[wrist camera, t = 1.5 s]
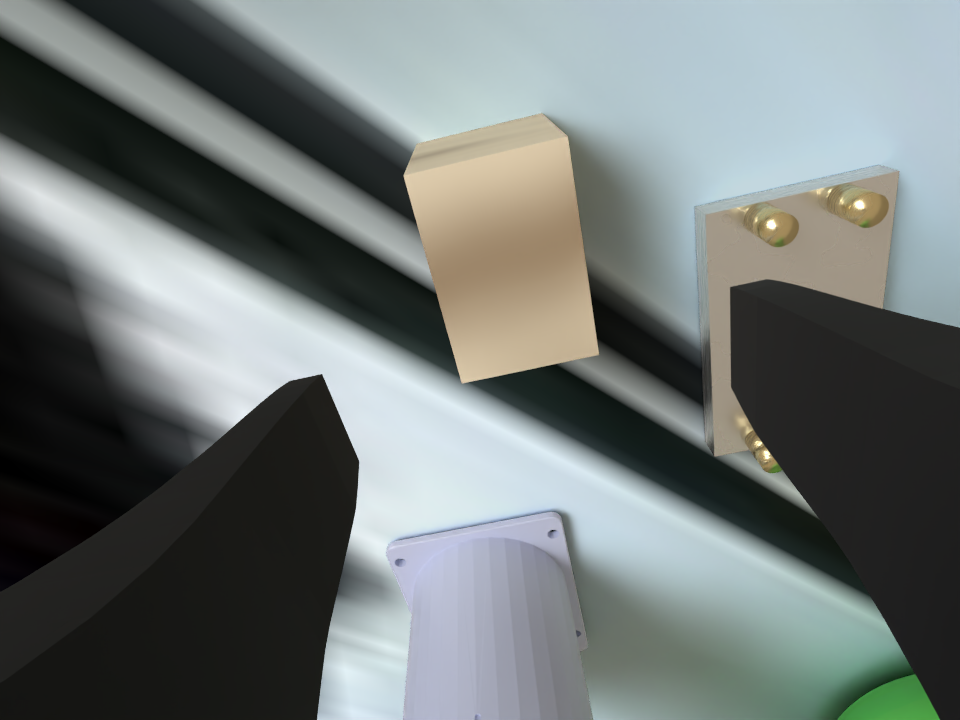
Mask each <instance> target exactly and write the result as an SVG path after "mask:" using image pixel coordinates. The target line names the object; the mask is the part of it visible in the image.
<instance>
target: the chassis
mask: <svg viewBox="0 0 960 720" xmlns="http://www.w3.org/2000/svg"><path fill="white" fill-rule="evenodd" d="M898 178H899V171H898V170H895V169H891V168H888V167H885V166H881V165H876V166H872V167H868V168H863V169H859V170H854V171H850V172H846V173H841V174H837V175H832V176H828V177H824V178H819V179H815V180H810V181H806V182H802V183H797V184H793V185H788V186H784V187H780V188H775V189H771V190H766V191H762V192H758V193H753V194H749V195H744V196H740V197H736V198H731V199H727V200H722V201H718V202H714V203H709V204H705V205H700V206H696V207H695V228H696V250H697V272H698V293H699V315H700V337H701V359H702V380H703V402H704V424H705V442H706V443H707V445H708V447H709V448H710V450H711V452H712V453H713V455H714V457H715V456H720V455H725V454H730V453H736V452H741V451H746V450H750V451H751V453H752V454H753V455H754V457H755V458H756V460H757V461H758V463H759V464H760V465H761V467H762V468H763V470H764V471H766V472H768V473H776V472H779V471H781V470H782V469H781V467H780V466H779V465H778V463H777V462H776V460H775V459H774V458H773V456H772V455H771V454H770V452H769V451H768V450H767V448H766V447H765V446H764V444H763V443H762V441H761V440H760V439H759V437H758V436H757V435H756V433H755V431H754V430H753V428H752V426H751V424H750V423H749V421H748V419H747V417H746V415H745V414H744V412H743V410H742V408H741V406H740V404H739V402H738V400H737V398H736V396H735V394H734V392H733V390H732V388H731V345H730V287H732V286H737V285H742V284H746V283H751V282H756V281H760V280H765V279H770V280H777V281H782V282H786V283H791V284H795V285H799V286H802V287H806V288H810V289H814V290H817V291H821V292H824V293H828V294H831V295H835V296H838V297H842V298H845V299H849V300H852V301H856V302H860V303H863V304H867V305H870V306H874V307H877V308H881V309H883V301H884V293H885V285H886V277H887V269H888V260H889V252H890V244H891V236H892V227H893V219H894V211H895V203H896V194H897V186H898Z"/></svg>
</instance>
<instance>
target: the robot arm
mask: <svg viewBox="0 0 960 720" xmlns="http://www.w3.org/2000/svg"><path fill="white" fill-rule="evenodd" d="M730 345H731V388H732V390H733V392H734V394H735V396H736V398H737V400H738V402H739V404H740V406H741V408H742V410H743V412H744V414H745V415H746V417H747V419H748V421H749V423H750V424H751V426H752V428H753V430H754V431H755V433H756V435H757V436H758V437H759V439H760V440H761V441H762V443H763V444H764V446H765V447H766V448H767V450H768V451H769V452H770V454H771V455H772V456H773V458H774V459H775V460H776V462H777V463H778V465H779V466H780V467H781V469H782V470H783V471H784V473H785V474H786V475H787V477H788V478H789V479H790V481H791V482H792V483H793V484H794V486H795V487H796V488H797V490H798V491H799V492H800V494H801V495H802V496H803V498H804V499H805V500H806V502H807V503H808V504H809V506H810V507H811V508H812V510H813V511H814V512H815V514H816V515H817V516H818V518H819V519H820V520H821V522H822V523H823V524H824V526H825V527H826V528H827V530H828V531H829V532H830V534H831V535H832V536H833V538H834V539H835V541H836V542H837V544H838V545H839V546H840V548H841V549H842V551H843V552H844V554H845V555H846V557H847V558H848V560H849V561H850V563H851V564H852V566H853V568H854V569H855V571H856V573H857V574H858V576H859V578H860V579H861V581H862V583H863V584H864V586H865V588H866V589H867V591H868V593H869V594H870V596H871V598H872V599H873V601H874V603H875V604H876V606H877V608H878V609H879V611H880V613H881V614H882V616H883V618H884V619H885V621H886V623H887V625H888V627H889V628H890V630H891V632H892V634H893V635H894V637H895V639H896V641H897V642H898V644H899V646H900V648H901V650H902V651H903V653H904V655H905V657H906V658H907V660H908V662H909V664H910V665H911V667H912V669H913V671H914V673H915V674H916V676H917V678H918V680H919V681H920V683H921V685H922V687H923V689H924V691H925V692H926V694H927V696H928V698H929V700H930V702H931V704H932V706H933V708H934V709H935V711H936V713H937V715H938V717H939V719H940V720H960V328H958V327H954V326H950V325H945V324H941V323H937V322H932V321H928V320H924V319H919V318H916V317H912V316H908V315H904V314H900V313H896V312H892V311H889V310H885V309H881V308H877V307H874V306H870V305H867V304H863V303H860V302H856V301H852V300H849V299H845V298H842V297H838V296H835V295H831V294H828V293H824V292H821V291H817V290H814V289H810V288H806V287H802V286H799V285H795V284H791V283H786V282H782V281H777V280H770V279H765V280H760V281H756V282H751V283H746V284H742V285H737V286H732V287H730ZM358 473H359V460H358V458H357V455H356V453H355V451H354V448H353V446H352V444H351V441H350V439H349V437H348V434H347V432H346V429H345V427H344V425H343V422H342V420H341V418H340V415H339V413H338V411H337V408H336V406H335V404H334V401H333V399H332V397H331V394H330V392H329V389H328V387H327V385H326V382H325V380H324V378H323V375H322V374H321V375H316V376H312V377H307V378H302V379H298V380H293V381H289V382H288V383H286V384H285V385H283V386H282V387H280V388H279V389H278V390H276V391H275V392H274V393H272V394H271V395H270V396H269V397H268V398H266V399H265V400H264V401H263V402H262V403H260V404H259V405H258V406H257V407H256V408H254V409H253V410H252V411H251V412H250V413H249V414H248V415H246V416H245V417H244V418H243V419H242V420H241V421H240V422H238V423H237V424H236V425H235V426H234V427H233V428H231V429H230V430H229V431H228V432H227V433H226V434H225V435H223V436H222V437H221V438H220V439H219V440H218V441H217V442H215V443H214V444H213V445H212V446H211V447H210V448H208V449H207V450H206V451H205V452H204V453H202V454H201V455H200V456H199V457H197V458H196V459H195V460H194V461H192V462H191V463H190V464H189V465H188V466H186V467H185V468H184V469H183V470H181V471H180V472H179V473H178V474H177V475H175V476H174V477H173V478H172V479H170V480H169V481H168V482H167V483H165V484H164V485H163V486H162V487H161V488H159V489H158V490H157V491H155V492H154V493H153V494H151V495H150V496H149V497H147V498H146V499H145V500H143V501H142V502H141V503H139V504H138V505H137V506H135V507H134V508H132V509H131V510H130V511H128V512H127V513H125V514H124V515H122V516H121V517H120V518H118V519H117V520H115V521H114V522H112V523H111V524H109V525H108V526H107V527H105V528H104V529H102V530H101V531H99V532H98V533H96V534H95V535H93V536H92V537H90V538H89V539H87V540H86V541H84V542H83V543H81V544H80V545H78V546H76V547H75V548H73V549H71V550H70V551H68V552H66V553H65V554H63V555H62V556H60V557H58V558H57V559H55V560H53V561H52V562H50V563H48V564H47V565H45V566H44V567H42V568H40V569H39V570H37V571H35V572H34V573H32V574H31V575H29V576H27V577H26V578H24V579H22V580H21V581H19V582H17V583H16V584H14V585H12V586H11V587H9V588H7V589H5V590H4V591H2V592H0V720H317V713H318V704H319V696H320V688H321V679H322V671H323V663H324V654H325V648H326V642H327V637H328V632H329V626H330V621H331V617H332V613H333V608H334V604H335V600H336V595H337V591H338V587H339V582H340V578H341V574H342V569H343V565H344V561H345V556H346V552H347V547H348V543H349V538H350V534H351V529H352V525H353V520H354V515H355V510H356V500H357V489H358ZM551 530H556V531H554V532H549V531H551ZM386 556H387V558H388V561H389V563H390V565H391V568H392V570H393V573H394V575H395V577H396V580H397V582H398V584H399V587H400V589H401V591H402V594H403V596H404V598H405V601H406V603H407V605H408V608H409V610H410V612H411V615H412V616H411V628H410V640H409V652H408V663H407V675H406V687H405V699H404V711H403V720H593V716H592V711H591V706H590V701H589V696H588V691H587V686H586V681H585V676H584V671H583V665H582V660H581V655H580V652H581V651H584V650H585V649H586V648H587V647H588V641H587V636H586V631H585V627H584V622H583V617H582V613H581V608H580V603H579V598H578V594H577V589H576V584H575V580H574V575H573V570H572V565H571V561H570V556H569V551H568V547H567V542H566V537H565V532H564V528H563V523H562V518H561V516H560V515H559V514H558V513H555V512H546V513H541V514H536V515H531V516H525V517H520V518H515V519H509V520H504V521H499V522H494V523H488V524H483V525H478V526H472V527H467V528H462V529H457V530H451V531H446V532H441V533H435V534H430V535H425V536H420V537H414V538H409V539H404V540H398V541H394V542H391V543H390V544H389V545H388V546H387V550H386ZM399 559H404V560H399Z"/></svg>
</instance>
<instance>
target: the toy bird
mask: <svg viewBox="0 0 960 720" xmlns="http://www.w3.org/2000/svg"><path fill="white" fill-rule="evenodd" d="M837 720H940V719H939V717H938V715H937V713H936V711H935V709H934V708H933V706H932V704H931V702H930V700H929V698H928V696H927V694H926V692H925V691H924V689H923V687H922V685H921V683H920V681H919V680H918V678H917V676H916V674H914V675H910V676H906V677H902V678H899V679H896V680H893V681H891V682H888V683H886V684H884V685H881V686H879V687H877V688H875V689H873V690H872V691H870V692H868V693H867V694H865V695H863V696H862V697H861V698H859V699H858V700H857V701H855V702H854V703H853V704H852V705H851V706H849V707H848V708H847V709H846V710H845V711H844V712H843V713H842V714H841V716H840V717H839V718H838V719H837Z"/></svg>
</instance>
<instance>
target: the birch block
mask: <svg viewBox="0 0 960 720" xmlns="http://www.w3.org/2000/svg"><path fill="white" fill-rule="evenodd" d="M404 179H405V183H406V186H407V190H408V193H409V197H410V200H411V204H412V208H413V211H414V215H415V218H416V222H417V225H418V229H419V232H420V236H421V240H422V243H423V247H424V250H425V254H426V257H427V261H428V264H429V268H430V272H431V275H432V279H433V282H434V286H435V289H436V293H437V296H438V300H439V304H440V307H441V311H442V314H443V318H444V321H445V325H446V328H447V332H448V336H449V339H450V343H451V346H452V350H453V353H454V357H455V360H456V364H457V368H458V371H459V375H460V378H461V382H462V383H466V382H471V381H476V380H481V379H486V378H490V377H495V376H500V375H505V374H509V373H514V372H519V371H524V370H529V369H533V368H538V367H543V366H548V365H553V364H557V363H562V362H567V361H572V360H576V359H581V358H586V357H591V356H596V355H599V352H598V345H597V338H596V331H595V324H594V317H593V310H592V303H591V296H590V289H589V282H588V275H587V268H586V261H585V254H584V247H583V240H582V233H581V226H580V218H579V211H578V204H577V197H576V190H575V183H574V176H573V169H572V162H571V155H570V148H569V141H568V136H567V135H566V134H565V133H564V132H562V131H561V130H560V129H559V128H558V127H557V126H556V125H555V124H554V123H552V122H551V121H550V120H549V119H548V118H547V117H546V116H545V115H543V114H542V113H541V114H537V115H532V116H528V117H524V118H520V119H516V120H512V121H508V122H504V123H500V124H496V125H492V126H487V127H483V128H479V129H475V130H471V131H467V132H463V133H459V134H455V135H451V136H447V137H442V138H438V139H434V140H430V141H426V142H422V143H418V144H417V145H416V147H415V149H414V152H413V154H412V157H411V159H410V161H409V164H408V166H407V169H406V171H405V173H404Z"/></svg>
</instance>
